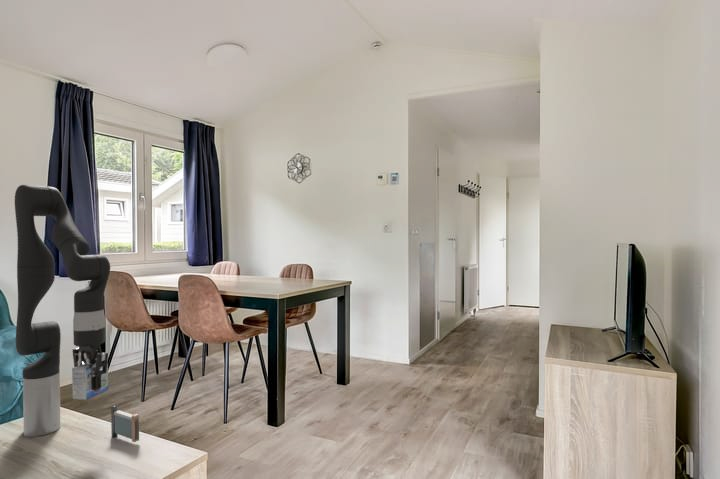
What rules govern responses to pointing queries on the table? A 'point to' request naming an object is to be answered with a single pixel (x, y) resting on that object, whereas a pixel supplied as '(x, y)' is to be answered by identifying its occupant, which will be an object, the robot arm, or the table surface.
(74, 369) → the medicine box
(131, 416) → the gate
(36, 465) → the table surface
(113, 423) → the gate post
